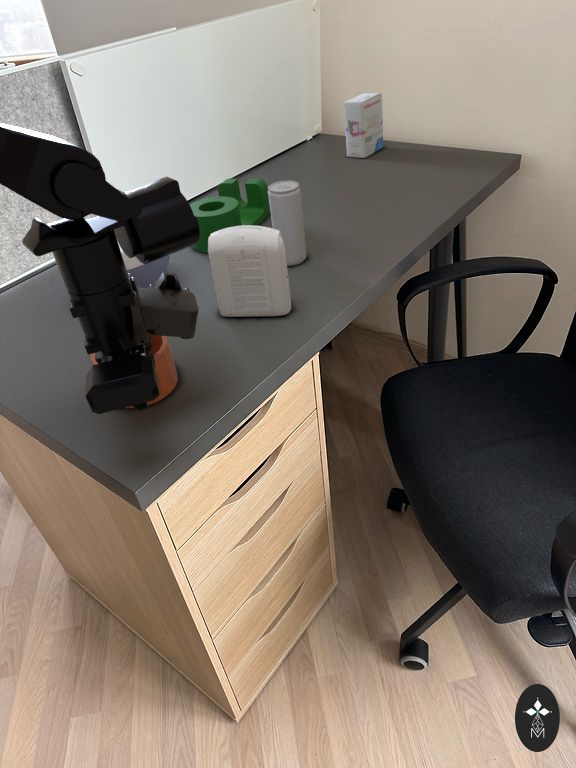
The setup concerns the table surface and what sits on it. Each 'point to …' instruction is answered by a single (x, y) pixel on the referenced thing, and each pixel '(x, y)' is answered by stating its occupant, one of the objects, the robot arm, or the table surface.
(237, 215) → the green bracket
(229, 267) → the white rounded block
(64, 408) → the table surface
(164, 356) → the cup
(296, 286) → the table surface
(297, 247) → the beverage can
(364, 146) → the ink box
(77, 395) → the table surface
